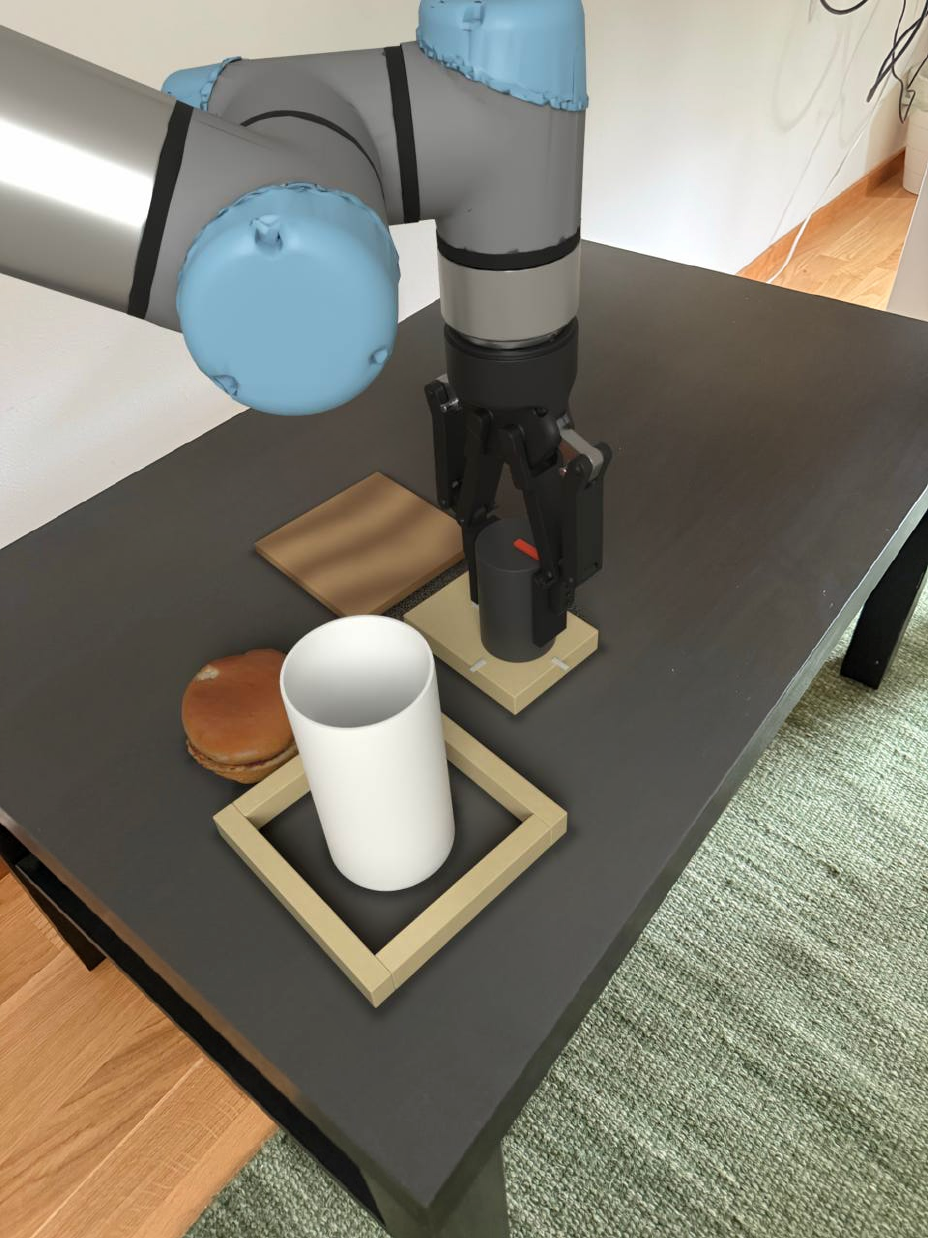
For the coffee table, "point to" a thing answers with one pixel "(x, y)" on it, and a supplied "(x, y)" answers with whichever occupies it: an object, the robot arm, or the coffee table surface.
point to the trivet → (365, 547)
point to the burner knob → (507, 590)
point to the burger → (239, 716)
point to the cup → (372, 748)
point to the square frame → (439, 919)
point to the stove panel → (458, 643)
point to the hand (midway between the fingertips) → (517, 613)
